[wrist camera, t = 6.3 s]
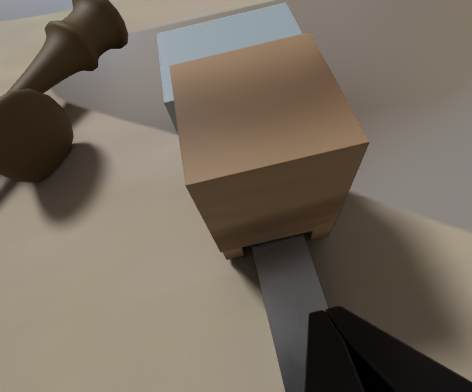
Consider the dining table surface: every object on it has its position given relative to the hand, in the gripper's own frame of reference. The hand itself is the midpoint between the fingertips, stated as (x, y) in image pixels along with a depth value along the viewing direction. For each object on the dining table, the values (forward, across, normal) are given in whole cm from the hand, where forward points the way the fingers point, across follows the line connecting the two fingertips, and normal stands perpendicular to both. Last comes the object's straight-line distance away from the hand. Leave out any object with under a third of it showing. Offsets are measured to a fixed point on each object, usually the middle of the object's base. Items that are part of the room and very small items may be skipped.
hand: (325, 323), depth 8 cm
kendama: (+20, +15, -9) cm, 27 cm away
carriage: (+11, 0, 0) cm, 11 cm away
